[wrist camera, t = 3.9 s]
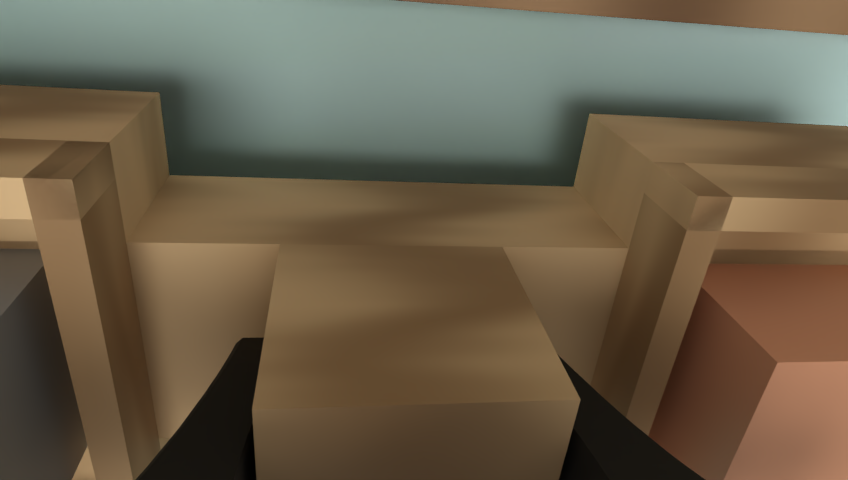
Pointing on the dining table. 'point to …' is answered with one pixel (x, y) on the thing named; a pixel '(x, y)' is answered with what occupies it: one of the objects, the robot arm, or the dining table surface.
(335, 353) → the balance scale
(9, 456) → the light grey cube
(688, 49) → the dining table surface
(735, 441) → the salmon orange block
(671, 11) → the dock
